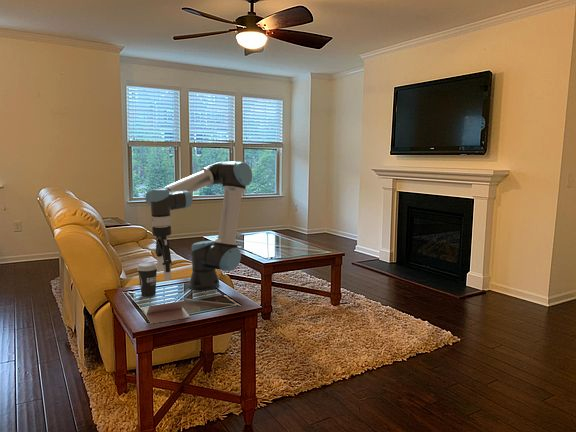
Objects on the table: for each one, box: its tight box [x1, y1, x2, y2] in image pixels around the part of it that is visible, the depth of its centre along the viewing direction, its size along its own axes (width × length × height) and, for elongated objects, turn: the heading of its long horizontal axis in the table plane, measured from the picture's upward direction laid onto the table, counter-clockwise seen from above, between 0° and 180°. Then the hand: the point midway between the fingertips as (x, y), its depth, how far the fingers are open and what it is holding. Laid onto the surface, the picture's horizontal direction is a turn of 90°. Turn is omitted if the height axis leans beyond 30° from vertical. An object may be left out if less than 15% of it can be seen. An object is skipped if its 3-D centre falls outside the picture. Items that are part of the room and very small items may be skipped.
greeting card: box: [147, 300, 188, 324], centre depth 186 cm, size 11×7×15 cm
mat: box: [141, 306, 191, 325], centre depth 191 cm, size 20×16×1 cm
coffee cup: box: [136, 261, 158, 297], centre depth 214 cm, size 10×10×15 cm
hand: (164, 275), depth 189 cm, fingers open, 13 cm apart
